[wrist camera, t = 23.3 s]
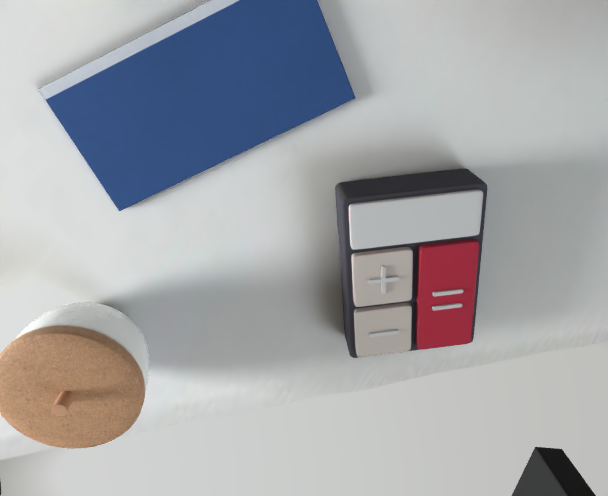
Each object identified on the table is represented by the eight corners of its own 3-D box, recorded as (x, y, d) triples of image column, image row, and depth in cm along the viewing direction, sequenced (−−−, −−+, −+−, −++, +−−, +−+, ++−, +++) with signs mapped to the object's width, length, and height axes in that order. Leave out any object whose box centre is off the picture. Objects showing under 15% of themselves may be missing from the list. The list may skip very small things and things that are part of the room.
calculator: (351, 365, 42) (343, 202, 35) (343, 334, 46) (334, 182, 39) (477, 349, 43) (493, 185, 36) (458, 320, 46) (469, 167, 40)
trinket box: (28, 275, 40) (-34, 341, 32) (162, 285, 42) (138, 351, 33) (38, 380, 44) (-14, 464, 36) (160, 387, 46) (137, 469, 37)
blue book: (354, 97, 37) (355, 98, 36) (120, 209, 39) (119, 211, 38) (298, -45, 33) (299, -46, 32) (40, 88, 35) (37, 89, 34)
